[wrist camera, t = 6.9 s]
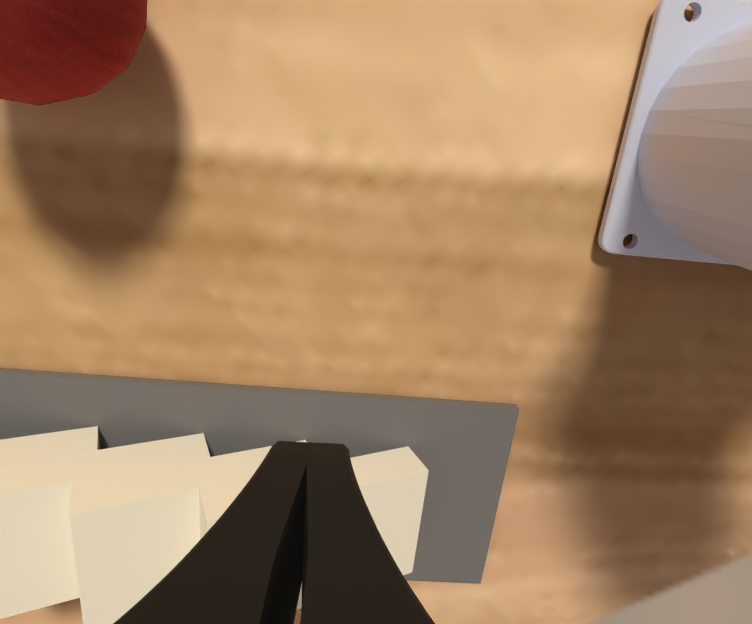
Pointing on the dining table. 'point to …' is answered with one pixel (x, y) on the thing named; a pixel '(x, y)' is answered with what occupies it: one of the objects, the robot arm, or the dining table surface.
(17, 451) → the domino
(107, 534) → the domino
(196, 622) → the robot arm
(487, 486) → the runner mat
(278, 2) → the dining table surface
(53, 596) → the domino
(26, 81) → the onion
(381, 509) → the domino
